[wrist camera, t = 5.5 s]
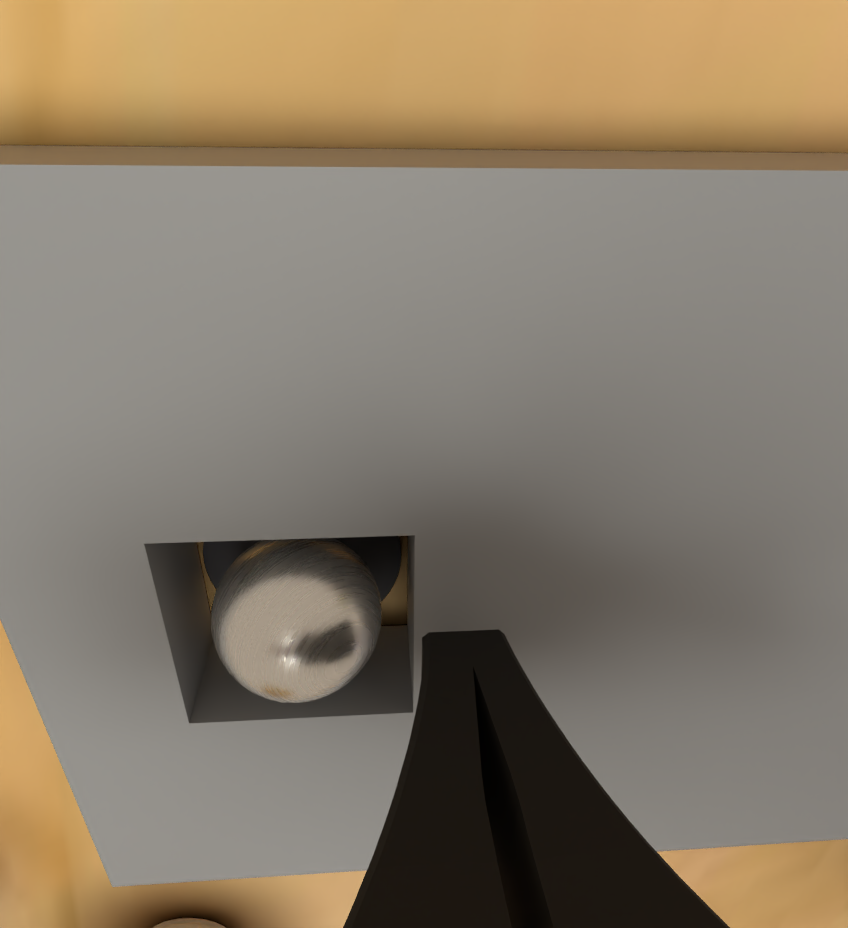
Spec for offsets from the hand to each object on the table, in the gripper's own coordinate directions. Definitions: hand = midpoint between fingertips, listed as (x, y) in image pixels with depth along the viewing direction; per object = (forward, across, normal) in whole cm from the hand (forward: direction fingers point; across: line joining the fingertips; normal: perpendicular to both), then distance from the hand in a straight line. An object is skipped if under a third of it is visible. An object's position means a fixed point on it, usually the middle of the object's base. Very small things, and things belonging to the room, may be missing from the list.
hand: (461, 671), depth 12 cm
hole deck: (+3, -2, 0) cm, 4 cm away
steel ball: (+2, +3, 0) cm, 3 cm away
